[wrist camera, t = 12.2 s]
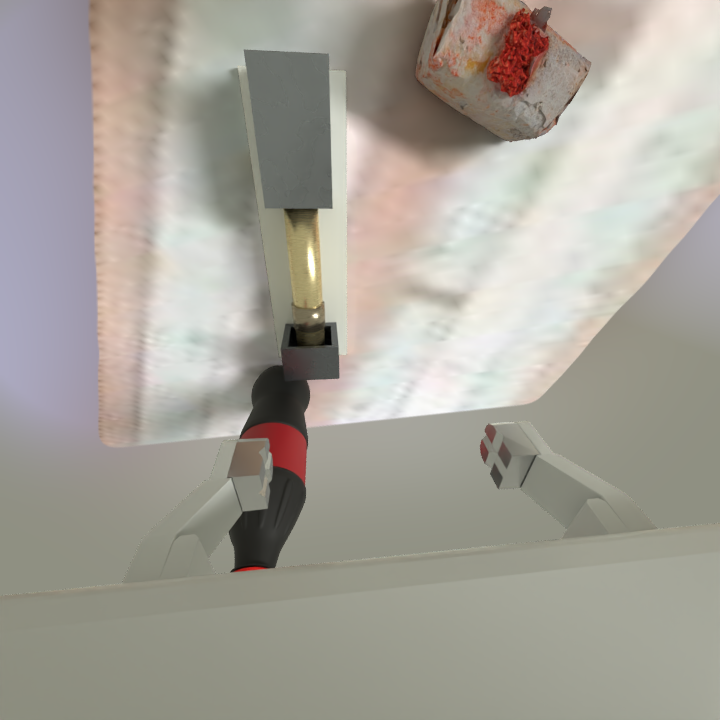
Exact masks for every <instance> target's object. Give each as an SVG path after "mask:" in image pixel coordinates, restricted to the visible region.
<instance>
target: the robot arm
mask: <svg viewBox="0 0 720 720" xmlns="http://www.w3.org/2000/svg"><path fill="white" fill-rule="evenodd" d="M485 433H486V434H487V435H486V436H485V437H484V438H483V439H482V441H481V445H480V450H481V456H482V459H483V461H484V463H485V464H486V465H487V466H489V467H490V468H491V473H490V474H491V476H492V478H493V480H494V482H495V484H496V485H497V488H498V489H514V488H521V490H522V491H523V492H524V493H525V494H526V495H528V496H529V497H530V498H531V499H532V500H534V501H535V502H536V503H537V504H538V505H539V506H540V507H542V508H543V509H544V510H545V511H547V513H549V514H550V515H551V516H552V517H553V518H554V519H556V520H557V521H558V522H559V523H560V524H561V525H563V526H564V527H565V528H566V529H567V530H566V531H565V533H564V534H563V536H562V537H561V539H555V540H545V541H535V542H526V543H516V544H506V545H496V546H486V547H476V548H466V549H456V550H446V551H436V552H427V553H417V554H408V555H397V556H388V557H378V558H369V559H358V560H349V561H340V562H329V563H319V564H309V565H300V566H290V567H280V568H270V569H260V570H250V571H240V572H231V573H221V574H216V573H215V571H214V569H213V567H212V565H211V563H210V561H209V559H208V558H209V557H210V556H211V554H212V553H213V552H214V550H215V549H216V547H217V546H218V545H219V544H220V542H221V541H222V539H223V538H224V537H225V536H226V534H227V533H228V532H229V530H230V529H231V528H232V526H233V525H234V524H235V522H236V521H237V520H238V518H239V517H240V516H241V514H242V512H243V511H252V510H261V509H268V502H269V496H270V488H269V483H270V481H271V480H272V474H273V458H272V453H270V452H269V448H270V443H269V439H268V438H255V439H237V440H224V441H223V442H222V444H221V446H220V449H219V452H218V455H217V458H216V461H215V464H214V467H213V470H212V473H211V476H210V479H209V480H204V481H203V482H202V483H201V484H200V485H199V486H198V487H197V488H196V489H195V490H193V491H192V492H191V493H190V494H189V495H188V496H187V497H186V498H185V499H184V500H183V501H182V502H181V503H179V504H178V505H177V506H176V507H175V508H174V509H173V510H172V511H171V512H170V513H169V514H167V515H166V516H165V517H164V518H163V519H162V520H161V521H160V522H159V523H158V524H157V525H156V526H155V527H153V528H152V529H151V530H150V531H149V532H148V533H147V534H146V535H145V536H144V537H143V538H142V540H141V542H140V544H139V546H138V549H137V551H136V553H135V555H134V557H133V560H132V562H131V564H130V566H129V568H128V570H127V573H126V575H125V577H124V579H123V581H122V583H121V584H112V585H102V586H91V587H82V588H72V589H62V590H52V591H42V592H32V593H22V594H12V595H1V596H0V720H720V523H712V524H702V525H692V526H682V527H673V528H663V529H658V528H657V527H656V526H655V525H654V524H653V523H652V522H651V520H650V519H649V518H648V517H647V516H646V515H645V514H644V512H643V511H642V510H641V509H640V508H639V507H638V506H637V505H636V503H635V502H634V501H633V500H632V499H631V498H630V497H629V495H627V494H626V493H624V492H622V491H621V490H619V489H617V488H616V487H614V486H612V485H610V484H609V483H607V482H605V481H604V480H602V479H600V478H598V477H597V476H595V475H593V474H592V473H590V472H588V471H587V470H585V469H583V468H581V467H580V466H578V465H576V464H575V463H573V462H571V461H569V460H568V459H566V458H564V457H563V456H561V455H559V454H554V453H553V452H552V450H551V449H550V448H549V447H548V445H547V444H546V443H545V441H544V440H543V439H542V437H541V436H540V435H539V433H538V432H537V431H536V430H535V428H534V427H533V426H532V424H531V423H530V422H528V421H520V422H506V423H491V424H488V425H487V426H486V428H485Z"/></svg>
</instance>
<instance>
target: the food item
mask: <svg viewBox="0 0 720 720" xmlns="http://www.w3.org/2000/svg"><path fill="white" fill-rule="evenodd" d="M536 10H537V11H536ZM549 11H550V13H549ZM551 11H552V8H549V7H543V8H542V9H540V10H539V9H536V8H535V9H534V11H533V12H532V11H531V10H530V9H529V8H528V7H527V5H526V4H525V3H523V2H522V1H520V0H437V2H436V4H435V7H434V9H433V11H432V14H431V17H430V20H429V23H428V26H427V29H426V32H425V36H424V39H423V42H422V46H421V49H420V52H419V55H418V59H417V65H416V72H415V76H416V77H417V80H418V81H419V82H420V83H421V84H422V85H424V86H425V87H426V88H427V89H428V90H429V91H430V92H432V93H433V94H434V95H436V96H437V97H438V98H440V99H441V100H442V101H444V102H445V103H447V104H448V105H449V106H451V107H452V108H454V109H455V110H457V111H458V112H460V113H461V114H463V115H466V116H468V117H469V118H470V119H472V120H473V121H474V122H476V123H478V124H480V125H482V126H484V127H485V128H486V129H487V130H489V131H490V132H492V133H493V134H495V135H496V136H498V137H500V138H502V139H504V140H506V141H510V142H512V141H518V140H524V139H532V138H535V139H536V138H537V137H539V136H542V135H544V134H546V133H547V132H548V131H549V130H551V128H552V127H553V126H554V125H557V122H558V119H559V117H560V115H561V114H562V113H563V111H564V110H565V109H566V107H567V106H568V105H569V104H570V102H571V101H572V99H573V98H574V96H575V95H576V93H577V91H578V90H579V88H580V86H581V85H582V83H583V82H584V80H585V78H586V76H587V74H588V72H589V69H590V66H591V62H590V61H588V60H587V59H586V58H585V57H582V55H581V54H579V53H578V52H577V51H576V50H575V49H574V48H573V47H572V46H571V45H570V44H569V43H568V42H567V41H565V40H564V39H563V38H562V37H561V36H560V35H559V34H558V33H557V32H555V31H554V30H553V29H552V28H551V27H549V26H548V25H547V20H548V19H549V18H550V15H551ZM537 13H538V14H537ZM536 14H537V15H536Z"/></svg>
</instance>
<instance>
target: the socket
mask: <svg viewBox="0 0 720 720" xmlns="http://www.w3.org/2000/svg"><path fill="white" fill-rule="evenodd" d="M324 337H325V346H299V347H297V337H296V329H295V328H294V324H285V329H284V334H283V339H282V344H281V356H282V363H283V371H284V378H285V381H296V380H317V379H338V378H339V345H338V335H337V324H336V322H327V323H325V327H324Z"/></svg>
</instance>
